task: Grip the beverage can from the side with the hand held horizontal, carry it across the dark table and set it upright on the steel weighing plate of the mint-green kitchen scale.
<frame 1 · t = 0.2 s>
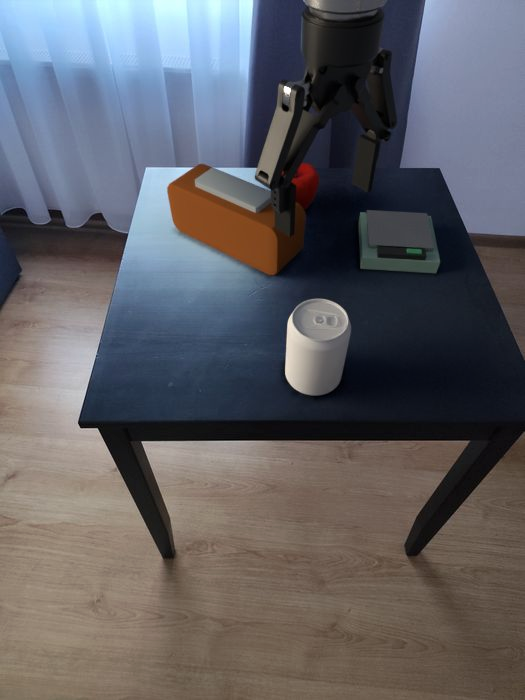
hand: (324, 208, 60), 21 cm above the table, tool pointing down, fingers open, 13 cm apart
scale: (395, 247, 87), on the table
beverage can: (312, 375, 69), on the table
apple: (294, 206, 95), on the table
alarm clock: (236, 242, 88), on the table
weighing plate: (398, 229, 85), point 3 cm above the table, slide at 0.0 cm
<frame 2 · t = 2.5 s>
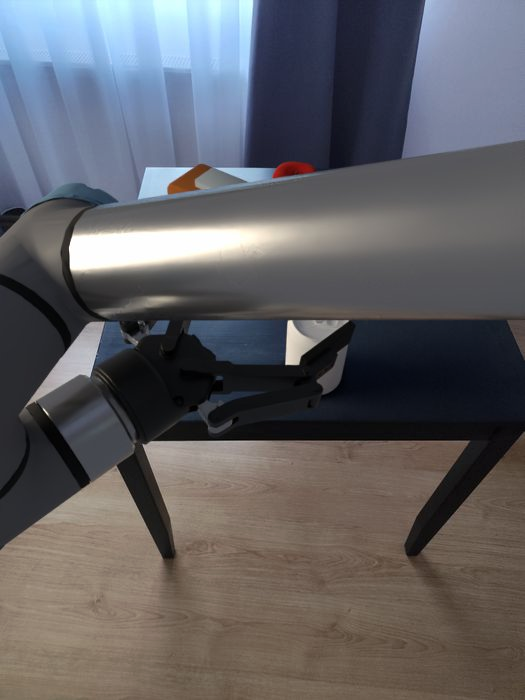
hand: (299, 290, 48), 23 cm above the table, tool horizontal, fingers open, 13 cm apart
nothing on the table moved.
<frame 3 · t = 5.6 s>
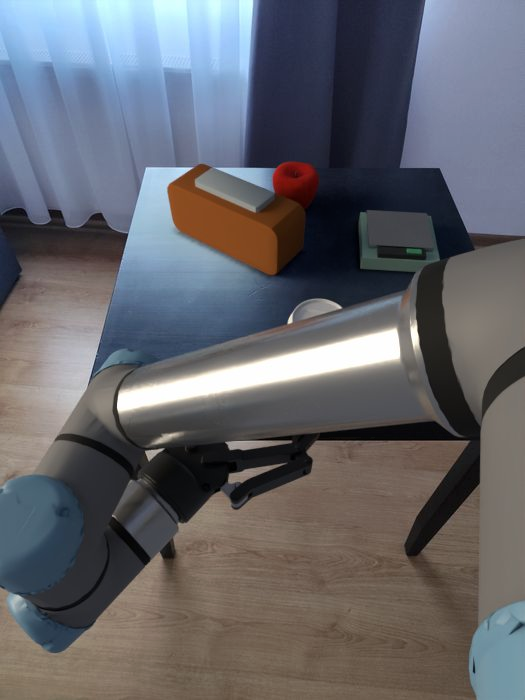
hand: (284, 375, 60), 7 cm above the table, tool horizontal, fingers open, 13 cm apart
nothing on the table moved.
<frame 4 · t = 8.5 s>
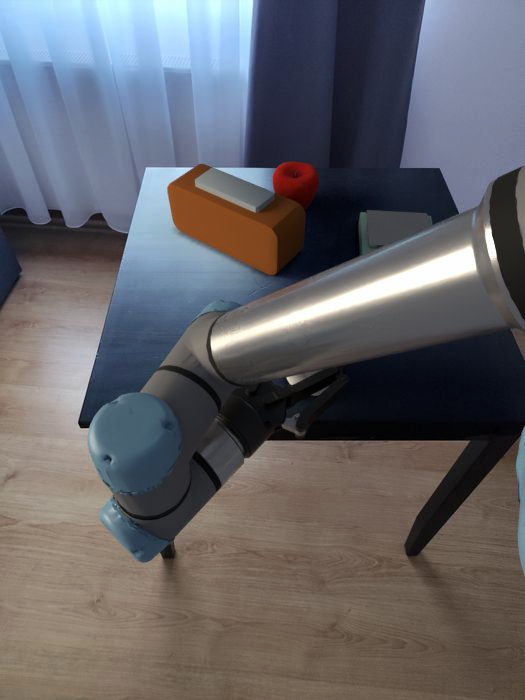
hand: (337, 324, 66), 7 cm above the table, tool horizontal, fingers closed on beverage can, 6 cm apart
beverage can: (312, 375, 69), on the table, touching gripper
everything else where it was.
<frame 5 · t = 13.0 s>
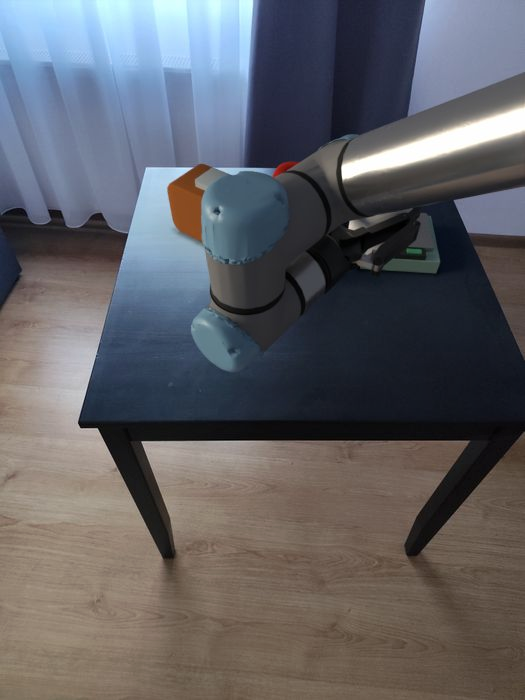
hand: (401, 186, 67), 18 cm above the table, tool horizontal, fingers closed on beverage can, 6 cm apart
beverage can: (374, 242, 70), point 11 cm above the table, touching gripper
everything else where it was.
when the fingers open (10 cm above the table, at t = 17.5 s): beverage can stays where it is, resting on weighing plate.
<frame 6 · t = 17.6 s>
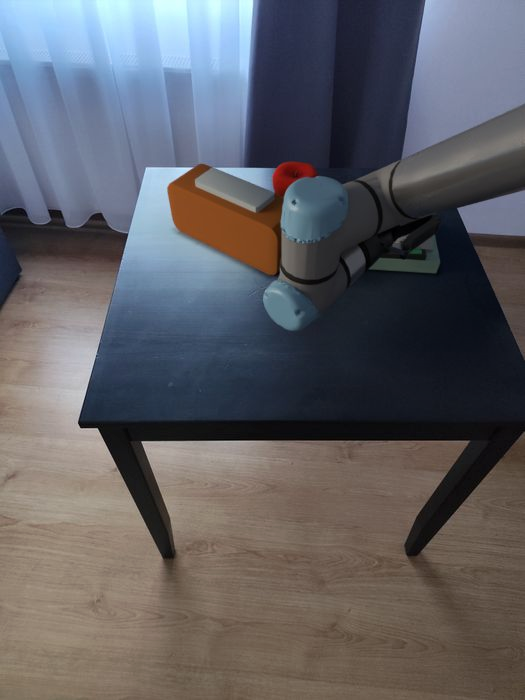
hand: (422, 188, 81), 10 cm above the table, tool horizontal, fingers open, 7 cm apart
beverage can: (399, 234, 84), point 3 cm above the table, touching weighing plate
weighing plate: (398, 230, 85), point 3 cm above the table, slide at -0.3 cm, touching beverage can
everything else where it was.
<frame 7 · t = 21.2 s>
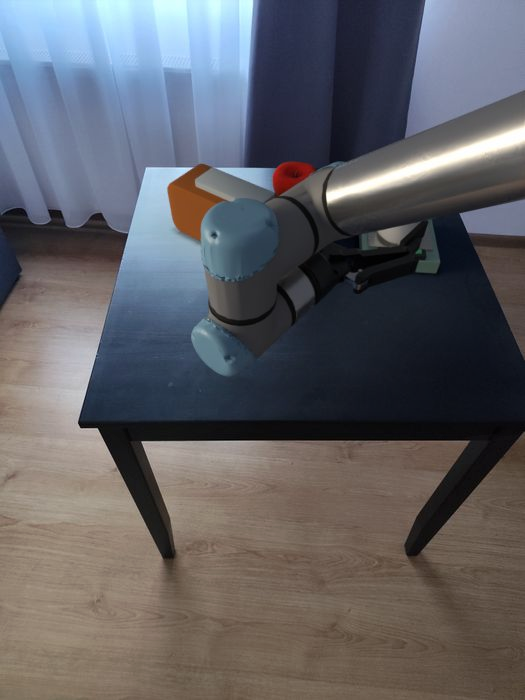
hand: (383, 209, 71), 14 cm above the table, tool horizontal, fingers open, 13 cm apart
nothing on the table moved.
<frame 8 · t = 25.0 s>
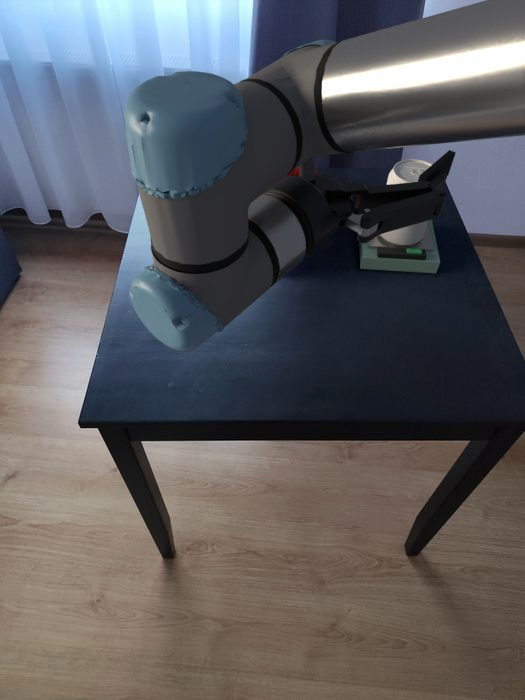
hand: (395, 142, 55), 28 cm above the table, tool horizontal, fingers open, 13 cm apart
nothing on the table moved.
at the end: beverage can inside the target area on the scale (0.5 cm from its centre), point 2.9 cm above the scale's base; beverage can tilted 0°; the gripper is holding nothing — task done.
